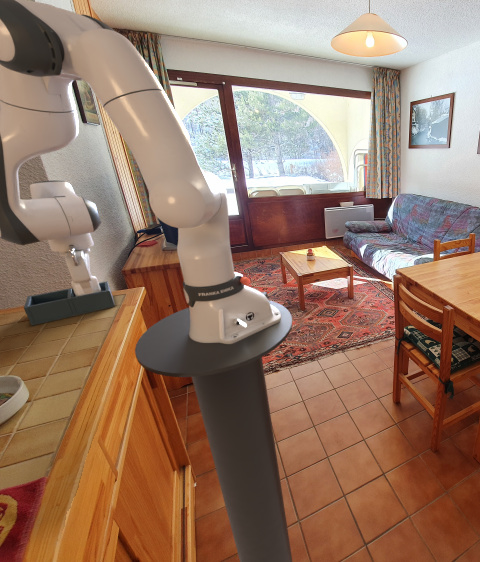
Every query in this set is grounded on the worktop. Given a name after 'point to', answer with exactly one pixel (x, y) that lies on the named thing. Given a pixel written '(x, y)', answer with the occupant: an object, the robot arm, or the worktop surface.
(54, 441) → the worktop surface
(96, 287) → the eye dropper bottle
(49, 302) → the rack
